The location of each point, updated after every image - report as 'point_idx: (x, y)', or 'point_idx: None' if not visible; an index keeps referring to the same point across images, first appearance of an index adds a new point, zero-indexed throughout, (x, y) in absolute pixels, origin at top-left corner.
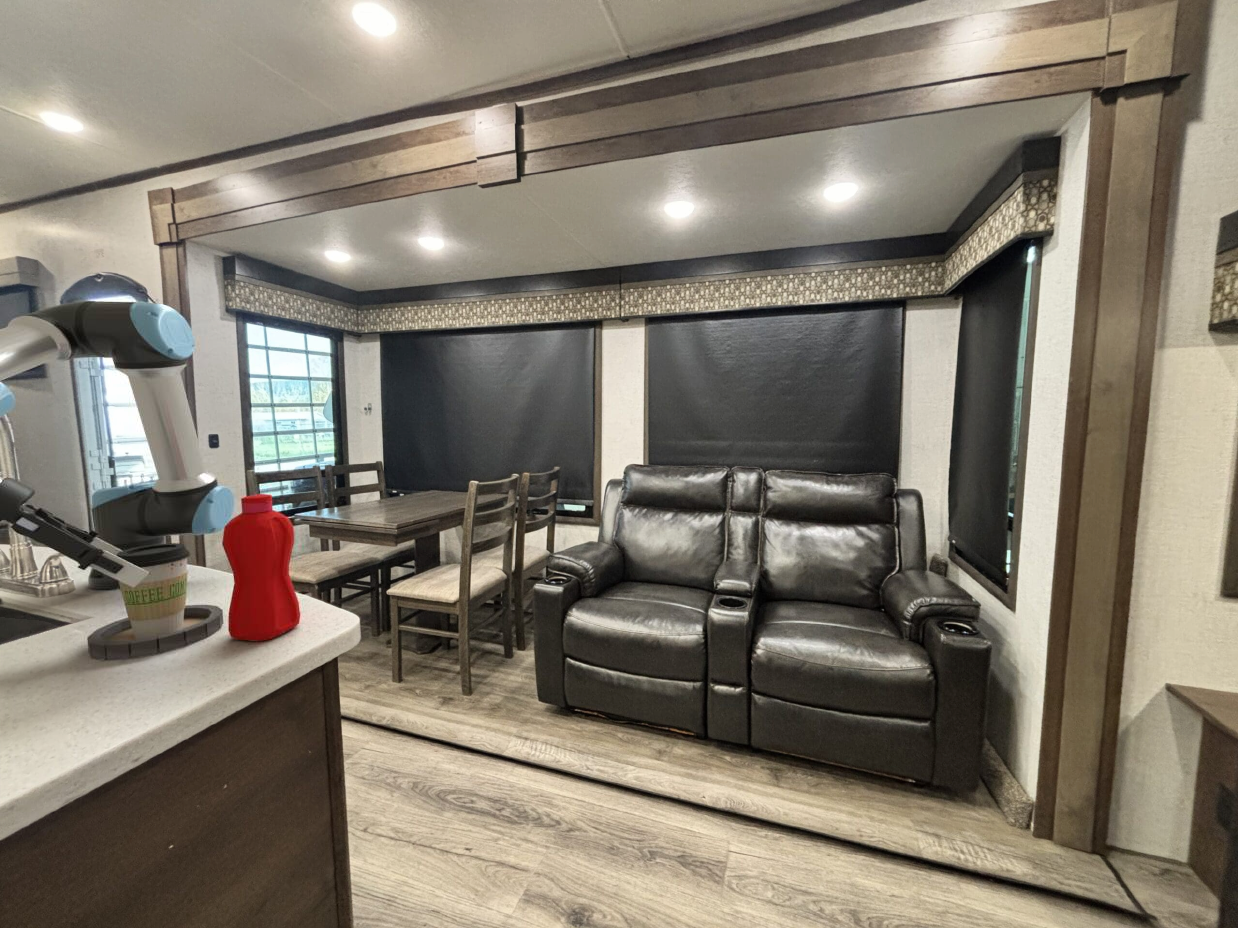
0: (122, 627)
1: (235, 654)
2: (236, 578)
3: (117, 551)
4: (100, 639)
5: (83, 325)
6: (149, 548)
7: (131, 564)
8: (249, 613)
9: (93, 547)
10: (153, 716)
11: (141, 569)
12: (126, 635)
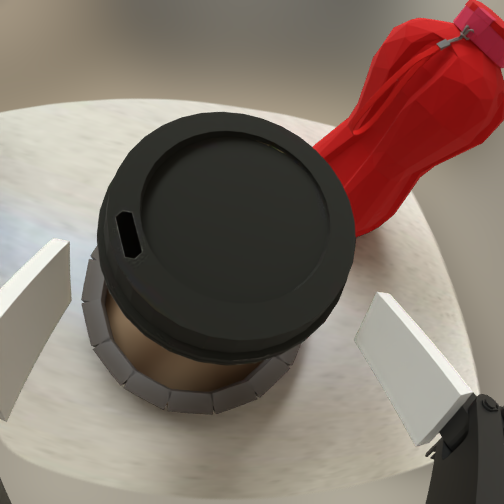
0: (112, 339)
1: (385, 263)
2: (404, 174)
3: (38, 287)
4: (207, 397)
5: None
6: (145, 191)
7: (418, 328)
8: (388, 209)
9: (501, 423)
10: (461, 365)
11: (400, 308)
12: (151, 344)
